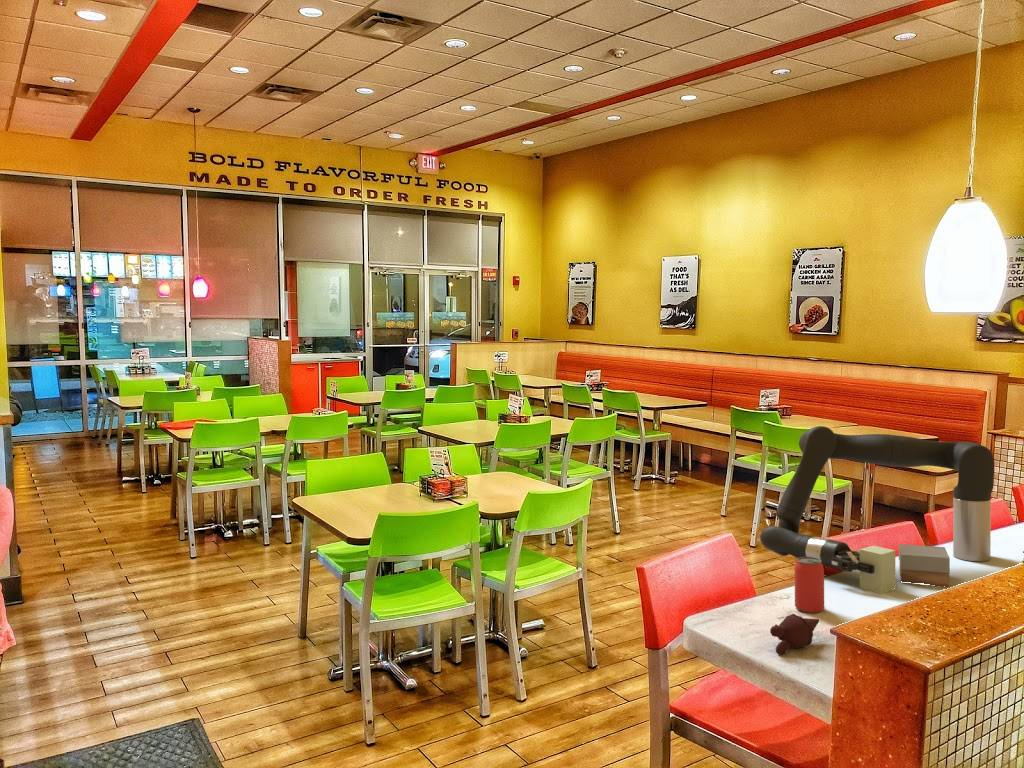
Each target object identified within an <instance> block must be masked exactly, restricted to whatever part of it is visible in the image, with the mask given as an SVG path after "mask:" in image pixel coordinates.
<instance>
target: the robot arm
mask: <svg viewBox="0 0 1024 768" xmlns="http://www.w3.org/2000/svg"><path fill="white" fill-rule="evenodd" d="M798 446H799V449H800V451H801V452H802V454H801V455H802V456H801V458H800V462H799V463H798V466H797V469H796V470H795V472H794V473H793V474H794V475H793V476H792V477H791V479H790V481H789V483H788V484H787V486H786V488H785V490H784V492H783V493H782V496H781V499H780V501H779V504H778V506H777V508H776V512H775V517H777V519H778V520H779V526H778V525H777V526H776V525H770V526H767V527H765V528H764V529H763V530H762V531H761V532H760V537H759V538H760V543H761V544H762V545H763V547H764V548H766V549H767V550H768V551H771V552H773V553H775V554H777V555H779V556H782V557H784V556H785V557H786V556H789V555H790V556H792V557H795V558H799V557H814V558H818V559H820V560H821V561H822V562H821V563H822V565H823V567H826V568H828V569H833V570H837V571H845V572H847V573H848V572H849V573H852V572H853V571H854V572H860V571H862V572H866V573H870V574H872V573H874V565H872V564H868V563H864V562H860V550H855V549H853V550H851V549H850V546H849V545H848V544H847V543H846V542H845V541H844V542H843V541H840V540H839V541H838V540H833V539H830V538H826V537H820V536H819V537H818V536H814V535H813V536H812V535H808V534H804V533H800V524H801V523H800V522H801V519H802V518H803V515H804V512H805V510H806V508H807V505H808V503H809V500H810V497H811V495H812V492H813V490H814V488H815V486H816V482H817V480H818V478H819V476H820V474H821V472H822V470H823V469H824V467H825V465H826V464H827V462H828V460H831V459H834V460H835V459H836V460H841V459H842V460H850V461H854V462H861V463H866V464H871V465H880V466H887V467H894V468H895V467H896V468H914V467H916V468H917V467H925V466H927V467H936V468H937V467H938V468H943V469H944V468H945V469H948V470H949V469H950V470H952V471H953V470H954V471H957V472H958V476H957V477H958V478H957V479H958V480H957V485H956V486H954V488H953V491H952V497H953V500H952V501H953V505H952V507H953V513H952V514H953V517H952V519H953V522H952V526H953V528H952V533H953V535H952V536H953V538H952V543H953V544H952V550H953V551H952V553H953V554H952V556H954V557H955V558H957V559H960V560H962V561H963V560H964V561H971V562H987V561H990V560H991V545H992V544H991V543H992V542H991V541H992V540H991V538H992V537H991V533H992V532H991V523H992V522H991V520H992V519H991V517H992V516H991V512H992V510H991V508H992V507H991V494H992V492H993V489H994V485H995V457H994V455H993V452H992V451H991V450H990V449H989V448H988V447H986V446H984V445H982V444H980V443H977V442H976V443H975V442H972V441H934V440H927V439H923V438H919V437H918V438H917V437H913V436H906V435H899V434H898V435H897V434H888V433H887V434H885V433H884V434H883V433H868V434H867V433H865V434H852V435H851V434H843V433H835V432H834V431H833V430H832V429H831V428H829V427H827V426H824V425H817V426H813V427H812V428H809V429H807V430H805V431H804V432H803V433H802V434H801V435H800V438H799V439H798Z"/></svg>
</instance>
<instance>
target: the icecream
mask: <svg viewBox="0 0 1024 768" xmlns="http://www.w3.org/2000/svg"><path fill="white" fill-rule="evenodd" d="M819 622H820V619H819V618H806V617H805V618H804V617H802V616H800V615H797V614H796V613H791V614H789V615H787V616H786V617H785V618H784V619H782V621H781V623H779V625H778V624H775V625H773V626H771V628H770V632H769V633H770V635H771V636H772V637H775V638H776V637H777V639H778V640H779V641H780V642H778V644H777V645H776V646H775V652H776V654H777V655H784V654H786V652H787V651H788V650H789V649H790V648H797V649H800V648H803V647H807V646H810V645H811V644H812V641H813V637H814V631H815V629H816V628H817V625H818V624H819Z"/></svg>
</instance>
